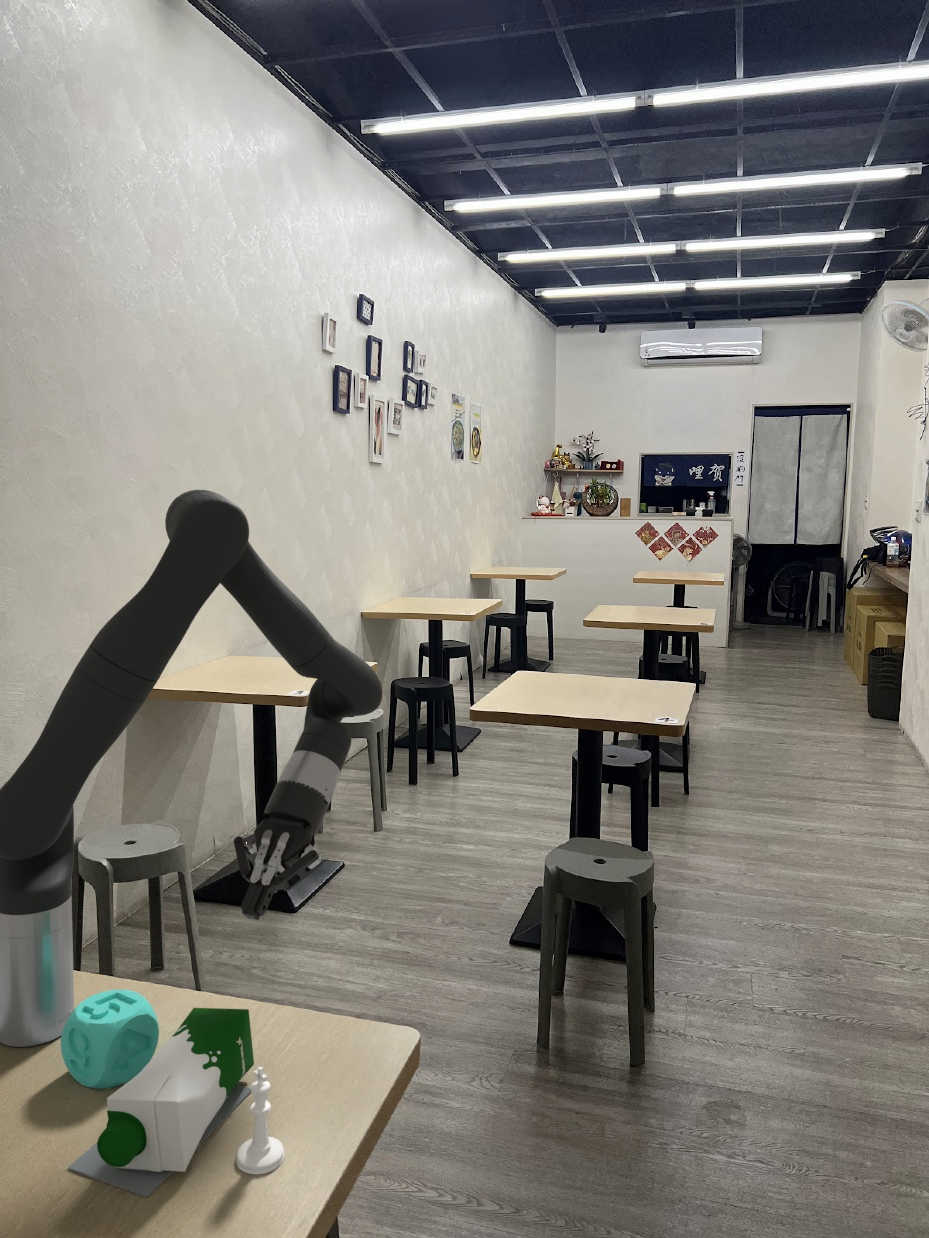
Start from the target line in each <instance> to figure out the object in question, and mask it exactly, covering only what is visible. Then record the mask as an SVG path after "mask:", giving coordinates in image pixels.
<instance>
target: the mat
mask: <svg viewBox="0 0 929 1238" xmlns="http://www.w3.org/2000/svg"><path fill="white" fill-rule="evenodd" d="M250 1094H252V1092H251V1087H247V1086H244V1085H239V1084H237V1085H236V1086H235V1088H234V1089H233V1090H232V1092H231V1093H230V1095H229V1096H228V1098H227V1099H226V1100H225V1102H224V1103H223V1105H222V1106H221V1108H220V1109H219V1111H218V1112H217V1113H216V1115H215V1116H214V1118H213V1119H212V1121H211V1122H210V1124H209V1125H208V1126H207V1128H206V1129H205V1131H204V1133H203V1135H202V1137H201V1139H200V1141H199V1143H198V1145H197V1148H198V1147H199V1146H200V1145H201V1144H202V1143H203V1142H204V1141H205V1140H206V1139H207V1138H208V1137H209V1136H210V1135H211V1134H212V1133H213V1132H214V1131H215V1130H216V1129H217V1128H218V1127H219V1126H220V1125H221V1123H223V1121H224V1120H225V1119H226V1118H228V1117H229V1116H230V1115H231V1113H232V1112H234V1110H236V1108H237V1107H239V1105H240V1104H242V1102H243V1101H245V1099H246V1098H247V1097H248V1096H249V1095H250ZM67 1170H69V1171H70V1172H71V1171H72V1172H74V1173H77V1174H80V1175H83V1176H85V1177H89V1178H91V1179H94V1180H95V1181H96V1180H97V1181H99V1182H103V1183H105V1184H107V1185H108V1184H109V1185H111V1186H114V1187H116V1188H120V1189H123V1190H125V1191H128V1192H130V1193H132V1194H136V1195H139V1196H141V1197H144V1198H149V1197H150V1196H151V1195H152V1194H153V1193H154V1192H155V1191H156V1190H157V1189H158V1188H159V1186H161V1185H162V1183H164V1182H165V1180H167V1178H169V1176H170V1175H171V1174H172V1173H174V1171H165V1170H163V1171H162V1172H154V1171H150V1170H137V1169H125V1168H115V1167H113V1166H111V1165H109V1164H107V1163H106V1162H105V1161H104V1160H103V1159H102V1158H101V1157H100V1155H99V1153H98V1149H97V1142H96V1143H94V1144H93V1145H91V1146H90V1148H89V1149H87V1150H86V1151H85V1152H84V1153H83V1154H82V1155H80V1156H79V1157H78V1158H77V1159H76V1160H74V1161H73V1162H72V1163H71V1164H70V1165H69V1166H68V1167H67Z"/></svg>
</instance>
